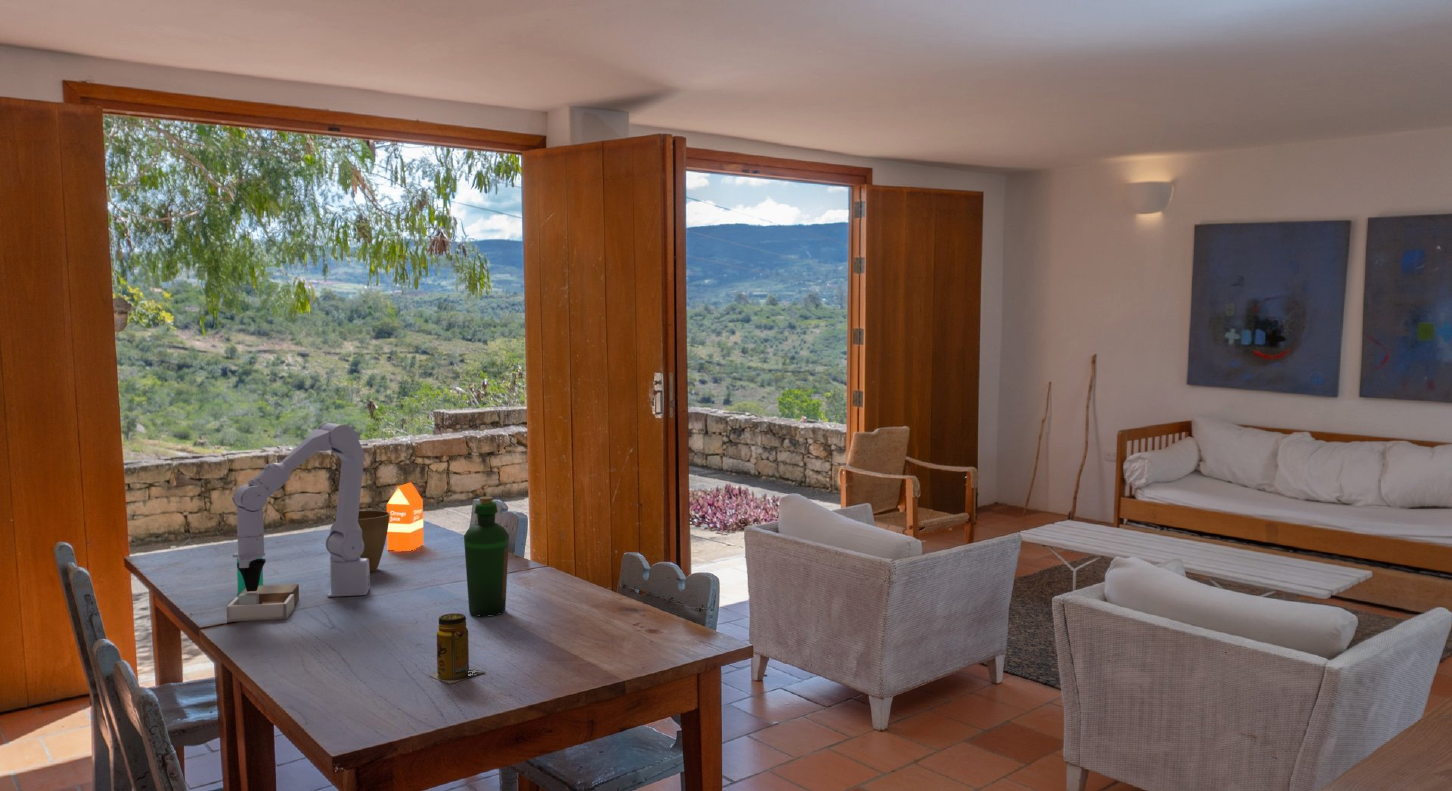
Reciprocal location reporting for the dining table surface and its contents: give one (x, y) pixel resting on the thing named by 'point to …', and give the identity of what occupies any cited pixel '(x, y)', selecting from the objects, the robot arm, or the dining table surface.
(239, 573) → the candle
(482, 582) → the bottle
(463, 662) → the condiment
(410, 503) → the orange juice
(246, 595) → the grey rectangular prism
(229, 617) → the tray
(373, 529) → the plant pot
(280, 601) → the tile terracotta
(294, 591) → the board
